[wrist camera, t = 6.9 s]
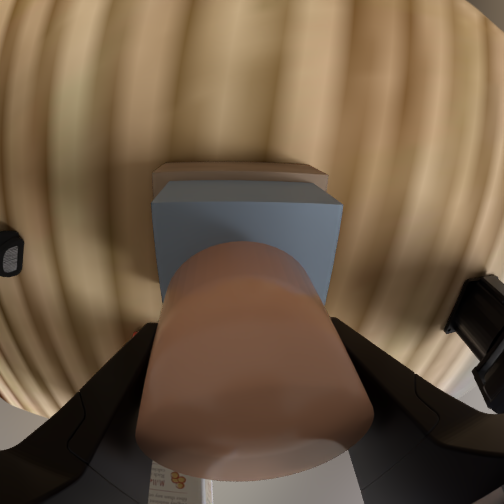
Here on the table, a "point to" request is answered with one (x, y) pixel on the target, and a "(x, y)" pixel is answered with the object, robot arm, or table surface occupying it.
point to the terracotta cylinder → (248, 371)
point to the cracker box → (177, 487)
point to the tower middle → (246, 223)
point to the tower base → (236, 173)
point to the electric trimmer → (10, 253)
